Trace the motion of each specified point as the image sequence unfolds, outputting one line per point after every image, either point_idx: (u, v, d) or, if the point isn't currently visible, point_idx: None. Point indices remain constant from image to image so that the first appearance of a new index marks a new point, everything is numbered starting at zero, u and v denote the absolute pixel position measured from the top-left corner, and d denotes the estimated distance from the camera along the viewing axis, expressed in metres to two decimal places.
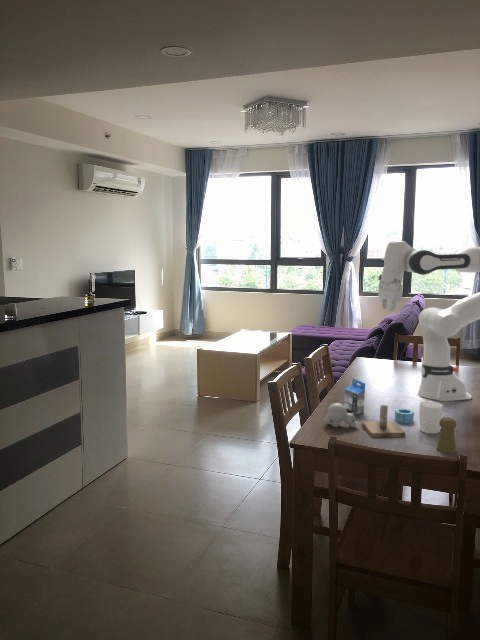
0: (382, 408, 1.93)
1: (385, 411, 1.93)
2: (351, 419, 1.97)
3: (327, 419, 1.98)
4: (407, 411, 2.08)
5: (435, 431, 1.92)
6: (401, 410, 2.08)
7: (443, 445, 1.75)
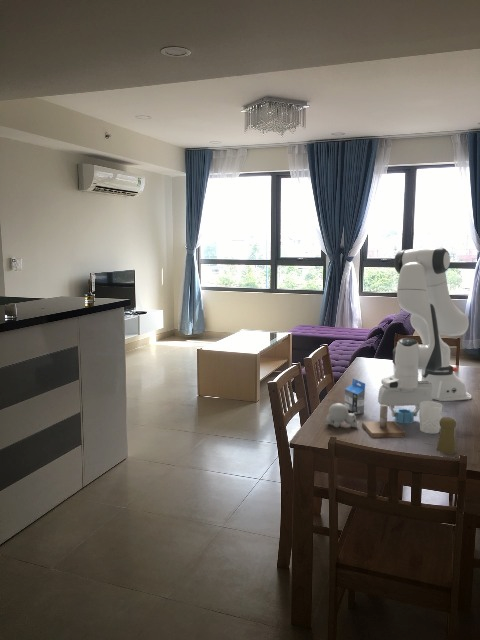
0: (382, 408, 1.93)
1: (385, 411, 1.93)
2: (352, 419, 1.97)
3: (328, 419, 1.98)
4: (407, 411, 2.08)
5: (435, 431, 1.92)
6: (401, 410, 2.08)
7: (443, 445, 1.75)
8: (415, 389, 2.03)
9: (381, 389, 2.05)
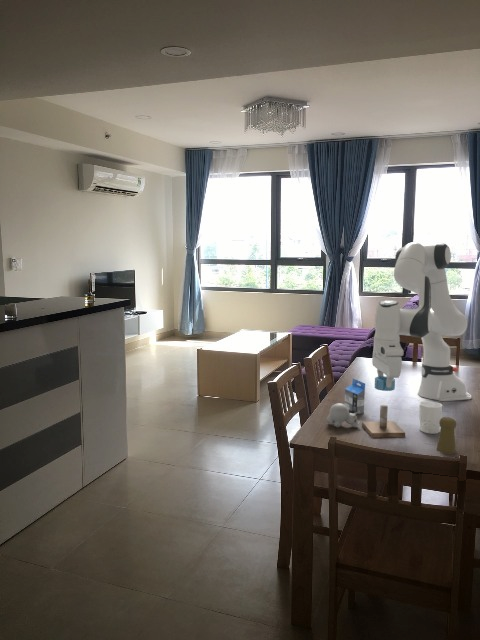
0: (382, 408, 1.93)
1: (385, 411, 1.93)
2: (353, 419, 1.97)
3: (329, 419, 1.98)
4: (379, 378, 1.94)
5: (435, 431, 1.92)
6: None
7: (443, 445, 1.75)
8: None
9: (394, 360, 1.82)
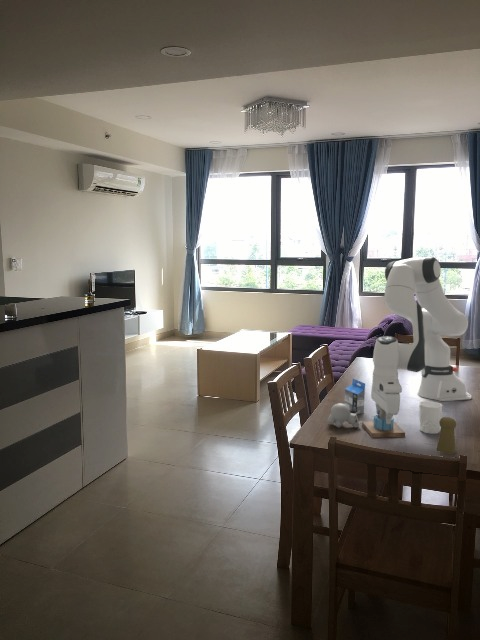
0: None
1: None
2: (354, 419, 1.97)
3: (330, 419, 1.98)
4: (378, 417, 1.96)
5: (435, 431, 1.92)
6: None
7: (443, 445, 1.75)
8: None
9: (393, 397, 1.84)
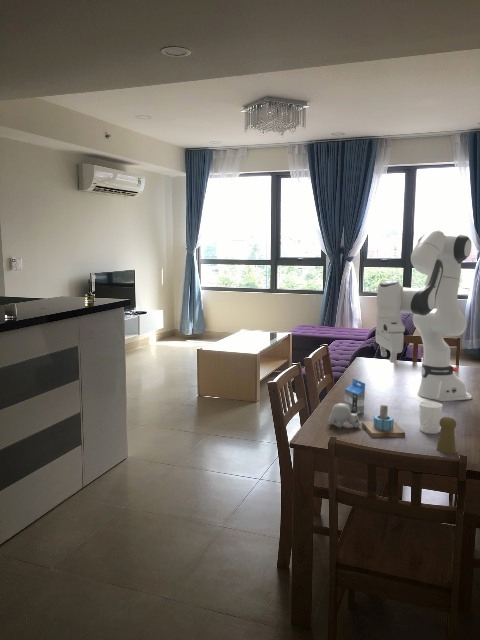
0: (382, 408, 1.93)
1: (385, 411, 1.93)
2: (355, 419, 1.97)
3: (331, 419, 1.98)
4: (378, 417, 1.96)
5: (435, 431, 1.92)
6: None
7: (443, 445, 1.75)
8: None
9: (396, 336, 1.93)
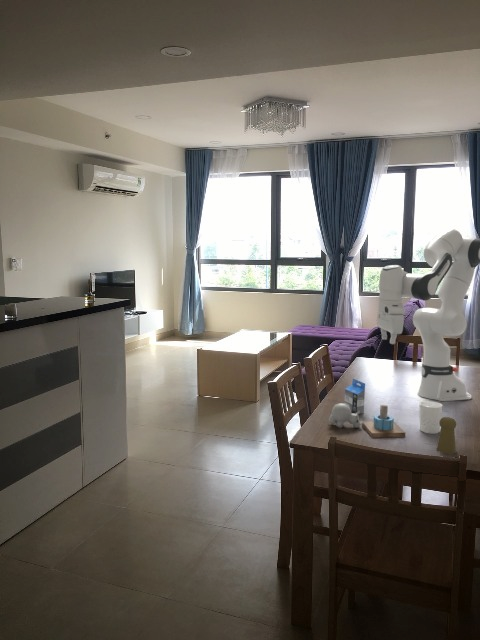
0: (382, 408, 1.93)
1: (385, 411, 1.93)
2: (355, 419, 1.97)
3: (331, 419, 1.98)
4: (378, 417, 1.96)
5: (435, 431, 1.92)
6: None
7: (443, 445, 1.75)
8: None
9: (397, 318, 2.01)
